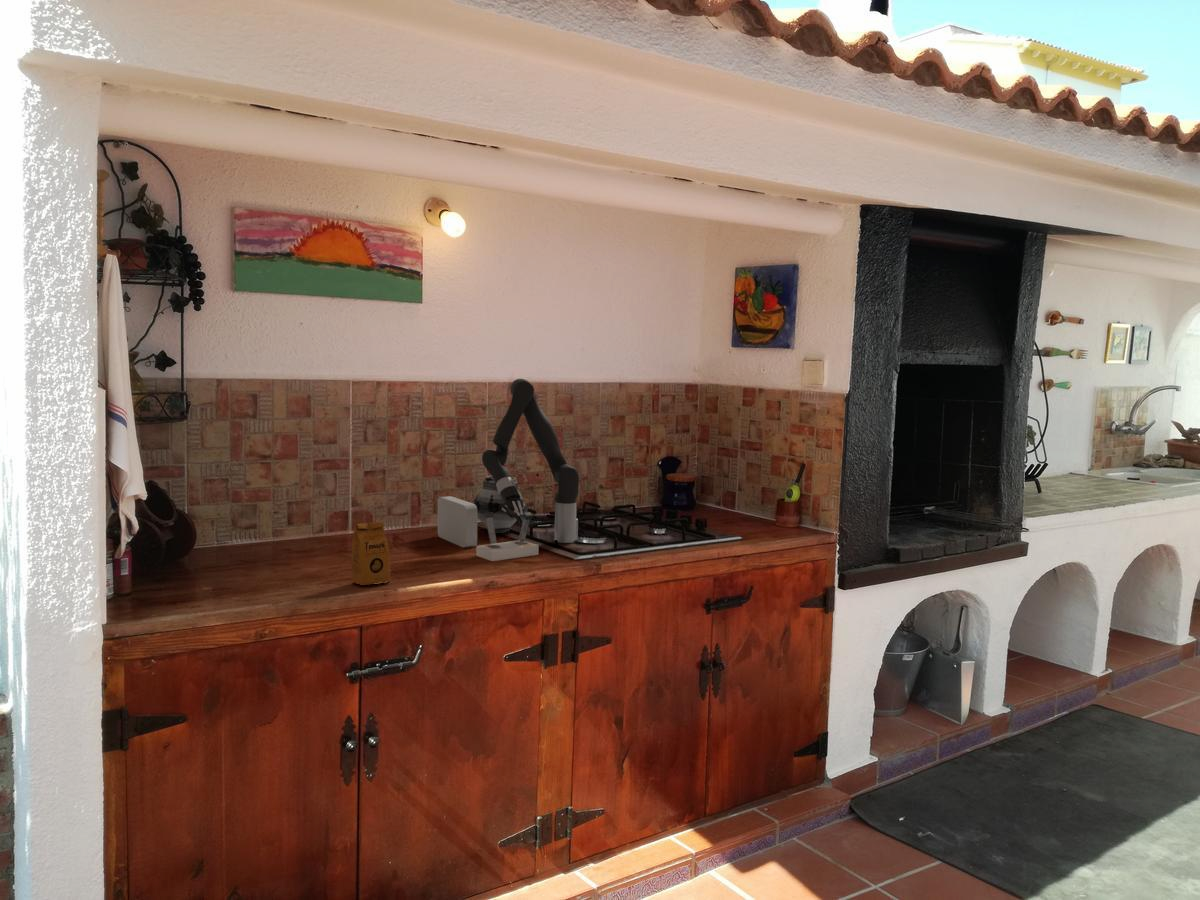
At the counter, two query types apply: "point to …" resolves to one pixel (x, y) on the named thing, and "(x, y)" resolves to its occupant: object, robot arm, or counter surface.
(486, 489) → the ceramic pot
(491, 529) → the lever
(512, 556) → the switch unit
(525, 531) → the lever
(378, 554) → the coffee package
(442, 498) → the rounded white slab
